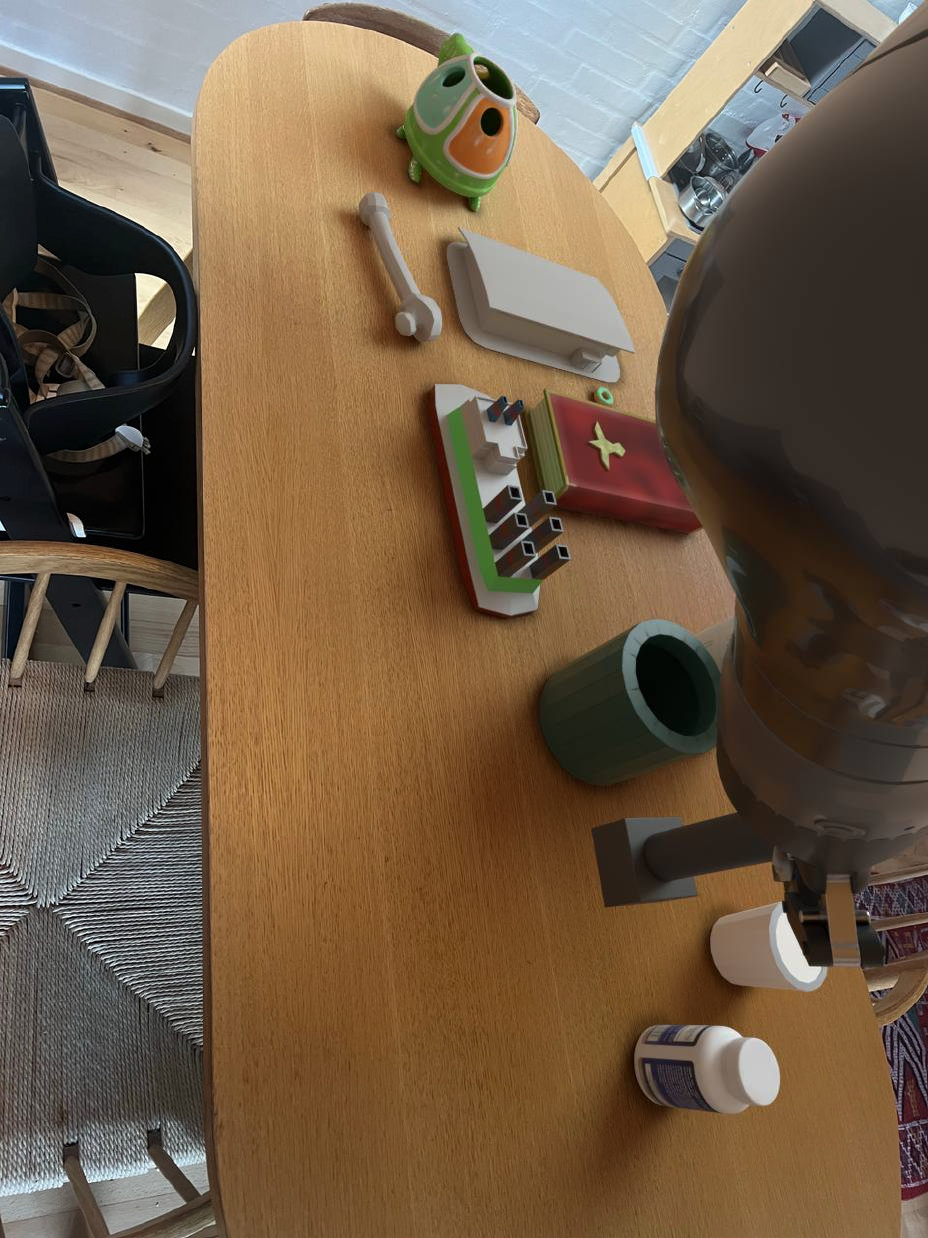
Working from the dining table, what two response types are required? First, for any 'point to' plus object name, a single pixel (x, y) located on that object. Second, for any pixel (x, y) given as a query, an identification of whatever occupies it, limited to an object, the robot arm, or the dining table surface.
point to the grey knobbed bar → (400, 274)
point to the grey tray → (536, 308)
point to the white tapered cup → (762, 951)
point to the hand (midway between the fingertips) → (790, 840)
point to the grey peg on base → (670, 856)
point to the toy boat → (492, 501)
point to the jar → (632, 704)
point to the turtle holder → (462, 122)
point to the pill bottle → (705, 1068)
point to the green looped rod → (606, 394)
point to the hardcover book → (605, 463)
